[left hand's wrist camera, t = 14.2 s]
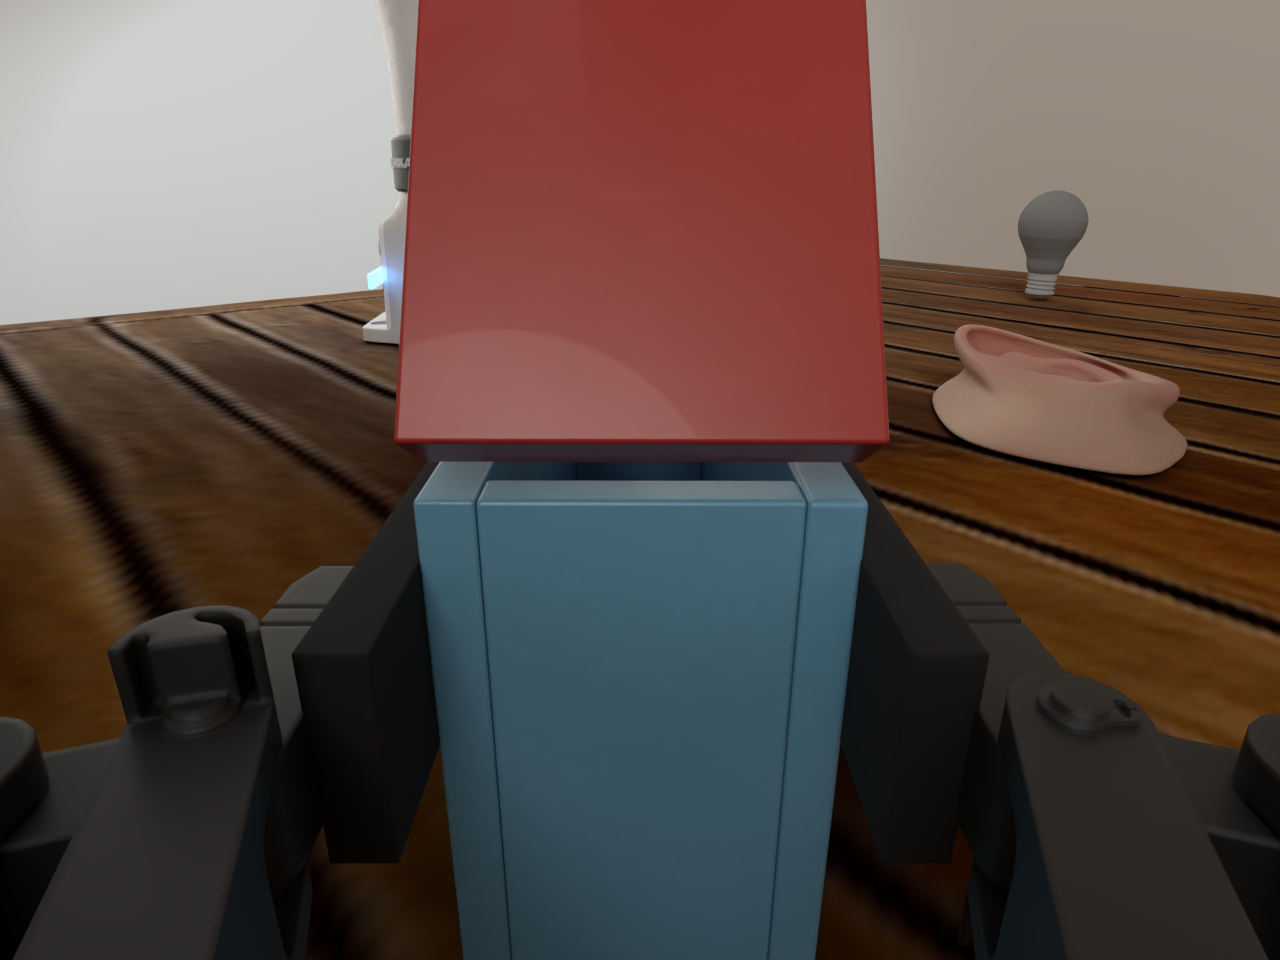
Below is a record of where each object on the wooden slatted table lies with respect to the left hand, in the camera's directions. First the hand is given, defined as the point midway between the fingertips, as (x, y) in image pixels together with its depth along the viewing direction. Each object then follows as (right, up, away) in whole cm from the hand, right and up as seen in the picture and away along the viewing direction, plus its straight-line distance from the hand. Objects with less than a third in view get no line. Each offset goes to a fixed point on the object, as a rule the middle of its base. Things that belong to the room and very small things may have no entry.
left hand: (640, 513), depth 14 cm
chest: (0, -5, +5) cm, 8 cm away
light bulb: (+40, +18, +65) cm, 79 cm away
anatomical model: (+21, +3, +27) cm, 34 cm away
